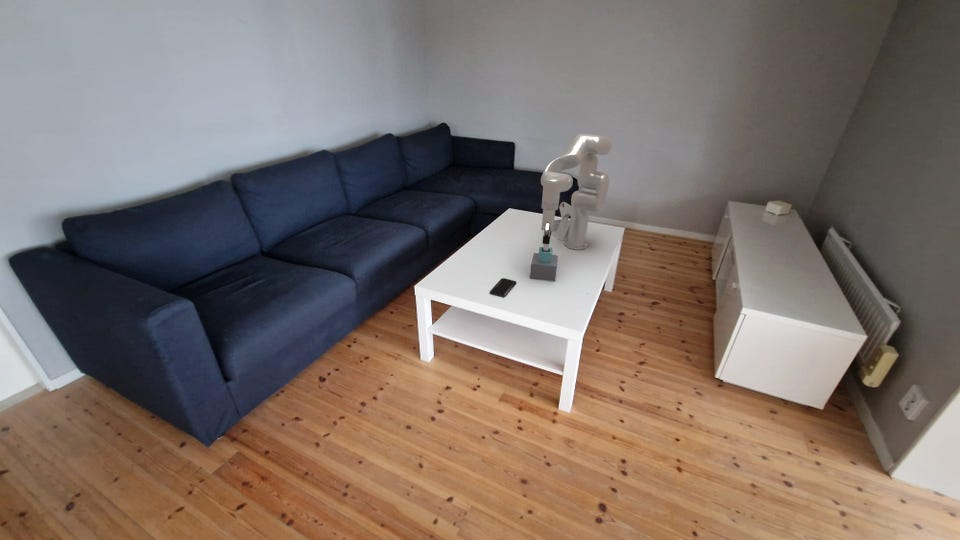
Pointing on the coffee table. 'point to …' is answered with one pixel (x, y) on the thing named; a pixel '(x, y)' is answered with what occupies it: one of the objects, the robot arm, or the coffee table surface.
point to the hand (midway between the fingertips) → (546, 239)
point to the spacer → (545, 255)
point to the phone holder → (562, 223)
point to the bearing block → (543, 268)
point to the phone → (503, 287)
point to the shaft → (546, 248)
